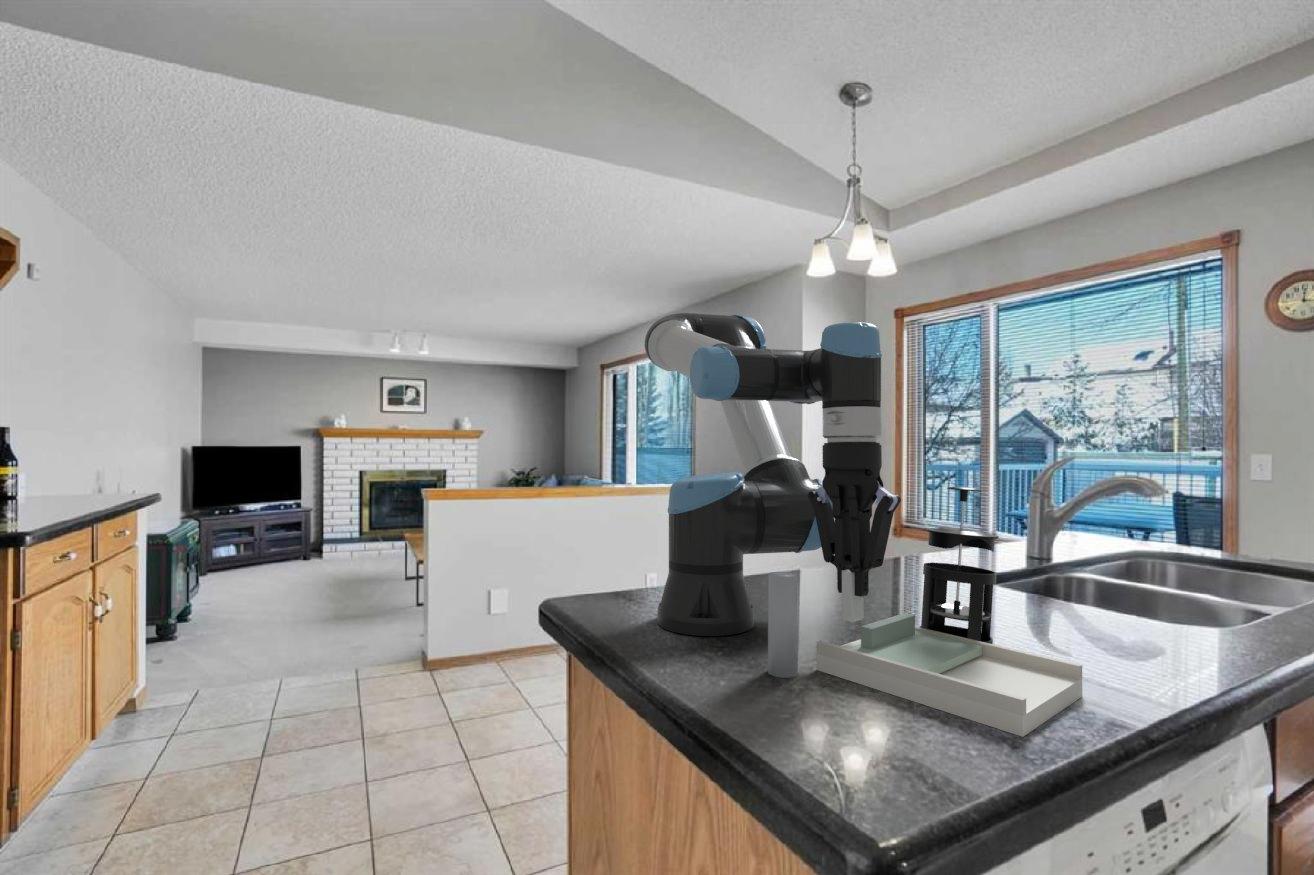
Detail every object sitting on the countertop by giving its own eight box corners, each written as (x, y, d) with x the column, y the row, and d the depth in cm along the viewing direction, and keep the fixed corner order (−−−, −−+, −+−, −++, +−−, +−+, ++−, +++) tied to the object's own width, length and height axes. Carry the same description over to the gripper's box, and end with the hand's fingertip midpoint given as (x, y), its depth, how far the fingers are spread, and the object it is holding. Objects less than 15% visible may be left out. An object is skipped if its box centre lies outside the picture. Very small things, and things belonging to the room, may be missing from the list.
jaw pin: (761, 671, 80) (761, 574, 80) (780, 665, 82) (780, 570, 83) (784, 680, 77) (784, 578, 78) (803, 673, 80) (803, 575, 80)
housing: (816, 669, 81) (816, 641, 81) (886, 644, 91) (886, 619, 91) (1023, 736, 62) (1022, 700, 62) (1082, 696, 73) (1082, 664, 73)
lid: (847, 656, 79) (847, 627, 79) (906, 635, 88) (906, 609, 88) (925, 679, 71) (925, 647, 71) (982, 654, 80) (982, 625, 80)
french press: (1012, 672, 83) (1022, 491, 84) (941, 668, 82) (952, 485, 83) (960, 645, 94) (970, 487, 95) (898, 642, 94) (908, 482, 94)
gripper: (794, 441, 89) (795, 614, 89) (879, 439, 79) (881, 635, 78) (827, 441, 94) (829, 606, 93) (912, 440, 84) (914, 624, 83)
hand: (853, 619), depth 86 cm, fingers closed
